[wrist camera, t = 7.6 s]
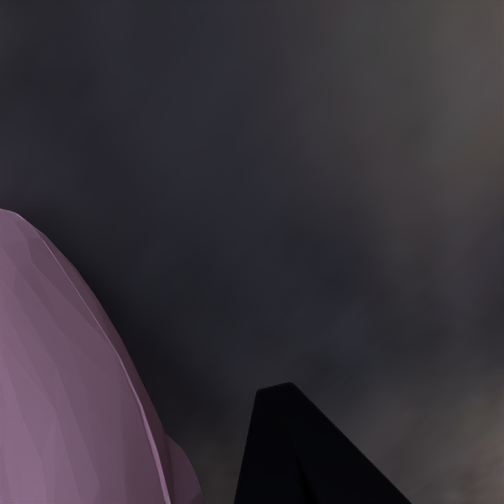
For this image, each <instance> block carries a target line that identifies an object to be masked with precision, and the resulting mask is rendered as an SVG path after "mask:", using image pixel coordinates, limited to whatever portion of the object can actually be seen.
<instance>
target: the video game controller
mask: <svg viewBox="0 0 504 504" xmlns="http://www.w3.org/2000/svg"><path fill="white" fill-rule="evenodd" d="M0 504H205V503H204V499H203V494H202V490H201V487H200V484H199V481H198V478H197V475H196V473H195V470H194V468H193V466H192V465H191V463H190V461H189V459H188V457H187V456H186V454H185V452H184V451H183V449H182V448H181V447H180V446H179V445H178V444H177V443H176V442H174V441H173V440H172V439H171V438H170V437H169V436H168V435H167V434H166V433H164V430H163V426H162V423H161V421H160V419H159V417H158V415H157V412H156V410H155V408H154V406H153V404H152V402H151V400H150V398H149V396H148V394H147V391H146V389H145V387H144V385H143V383H142V381H141V379H140V377H139V375H138V372H137V370H136V368H135V366H134V364H133V362H132V360H131V358H130V356H129V354H128V351H127V349H126V347H125V345H124V343H123V341H122V339H121V337H120V336H119V334H118V332H117V331H116V329H115V327H114V326H113V324H112V322H111V321H110V319H109V317H108V316H107V314H106V312H105V310H104V309H103V307H102V305H101V304H100V302H99V301H98V299H97V298H96V296H95V295H94V293H93V292H92V290H91V289H90V288H89V286H88V285H87V283H86V282H85V280H84V279H83V278H82V276H81V275H80V273H79V272H78V270H77V269H76V268H75V267H74V265H73V264H72V263H71V262H70V261H69V260H68V259H67V258H66V257H65V256H64V255H63V254H62V253H61V252H60V250H59V249H58V248H57V247H56V246H55V245H54V244H53V243H52V242H51V241H50V240H49V239H48V238H47V236H46V235H44V234H43V233H42V232H41V231H39V230H38V229H37V228H35V227H34V226H33V225H31V224H30V223H29V222H28V221H26V220H25V219H24V218H22V217H21V216H20V215H19V214H17V213H14V212H12V211H8V210H4V209H0Z"/></svg>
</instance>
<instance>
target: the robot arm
mask: <svg viewBox="0 0 504 504" xmlns="http://www.w3.org/2000/svg"><path fill="white" fill-rule="evenodd" d="M234 504H412V503H411V502H410V501H409V500H408V499H407V498H406V497H405V496H404V495H403V494H402V493H401V492H400V491H399V490H398V489H397V488H396V487H395V486H394V485H393V484H392V483H391V482H390V481H389V480H388V479H387V478H386V477H385V476H384V475H383V474H382V473H381V472H380V471H379V470H378V469H377V468H376V467H375V466H374V465H373V464H372V463H371V462H370V461H369V460H368V459H367V457H366V456H365V455H364V454H363V453H362V452H361V451H360V450H359V449H358V448H357V447H356V446H355V445H354V444H353V443H352V442H351V441H350V440H349V439H348V438H347V437H346V436H345V435H344V434H343V433H342V432H341V431H340V430H339V429H338V428H337V427H336V426H335V425H334V424H333V423H332V422H331V421H330V420H329V419H328V418H327V417H326V416H325V415H324V414H323V413H322V412H321V411H320V410H319V409H318V408H317V407H316V406H315V405H314V404H313V403H312V402H311V401H310V400H309V399H308V398H307V397H306V396H305V395H304V394H303V393H302V392H301V390H300V389H299V388H298V387H297V386H296V385H294V384H293V383H291V382H287V383H283V384H279V385H274V386H270V387H266V388H262V389H259V390H258V391H257V392H256V396H255V401H254V406H253V411H252V416H251V421H250V426H249V431H248V435H247V440H246V445H245V450H244V455H243V460H242V465H241V470H240V475H239V480H238V485H237V490H236V495H235V499H234Z"/></svg>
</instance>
